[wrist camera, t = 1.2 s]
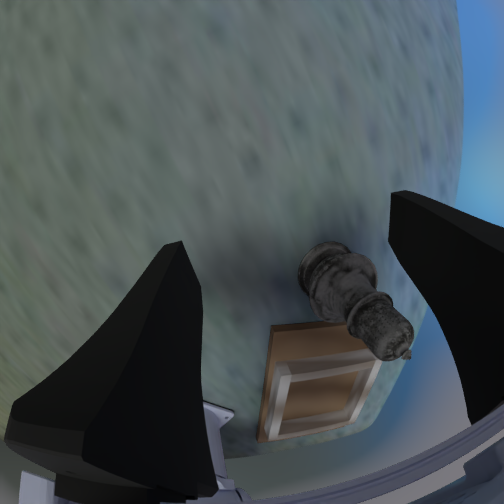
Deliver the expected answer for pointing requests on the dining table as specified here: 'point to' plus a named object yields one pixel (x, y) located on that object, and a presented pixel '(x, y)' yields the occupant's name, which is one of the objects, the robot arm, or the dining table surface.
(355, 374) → the board
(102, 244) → the dining table surface
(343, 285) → the salt shaker
